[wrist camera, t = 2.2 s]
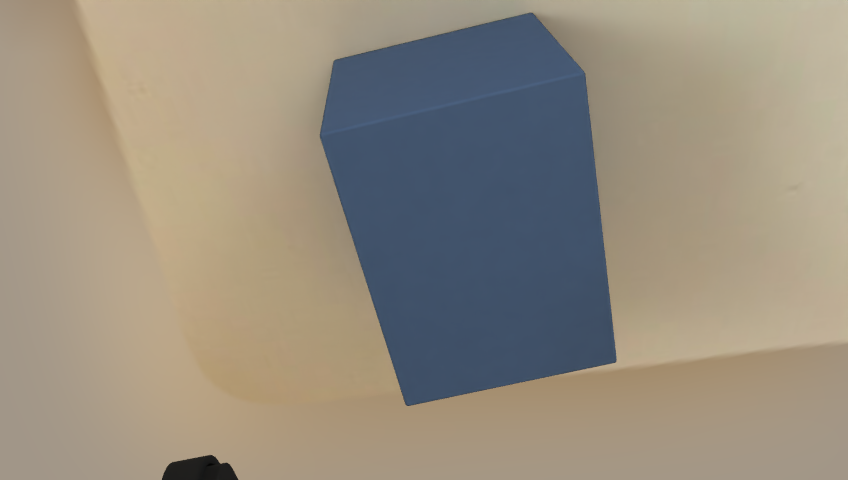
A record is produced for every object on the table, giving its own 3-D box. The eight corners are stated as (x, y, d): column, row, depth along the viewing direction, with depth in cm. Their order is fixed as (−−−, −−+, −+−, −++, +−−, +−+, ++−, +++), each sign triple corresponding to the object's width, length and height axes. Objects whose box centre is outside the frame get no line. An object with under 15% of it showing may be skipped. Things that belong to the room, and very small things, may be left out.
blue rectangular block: (399, 288, 21) (406, 407, 17) (333, 59, 17) (318, 133, 13) (566, 252, 21) (617, 363, 16) (533, 11, 17) (585, 71, 13)
